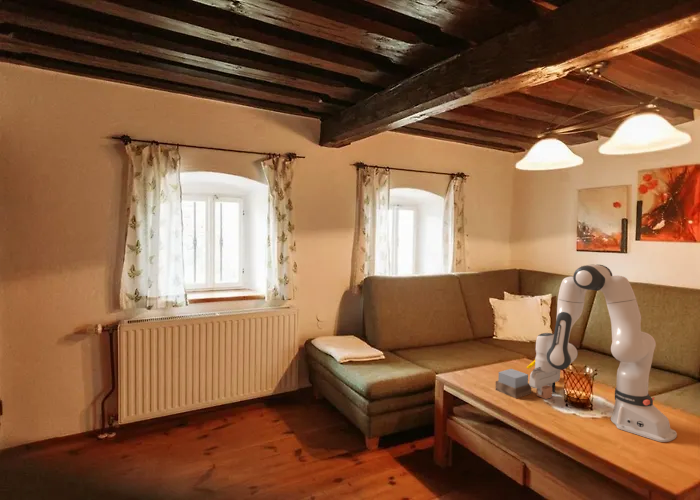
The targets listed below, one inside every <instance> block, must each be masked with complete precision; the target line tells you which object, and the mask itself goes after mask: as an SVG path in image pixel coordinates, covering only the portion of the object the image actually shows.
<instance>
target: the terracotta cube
mask: <svg viewBox="0 0 700 500" xmlns="http://www.w3.org/2000/svg"><path fill="white" fill-rule="evenodd" d="M541 389H542V391H543V394H542V395H539V394H538V390H537V389H536V397H539V398H542V399H545V400H547V399H550V398H553V392H552V387H551V386H548V385H545V386H542V388H541Z"/></svg>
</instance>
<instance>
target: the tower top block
mask: <svg viewBox="0 0 700 500" xmlns="http://www.w3.org/2000/svg"><path fill="white" fill-rule="evenodd" d="M497 381H498V382H500V383H503V384H506V385H508V386H511V387H513V388H518V387H521V386H524V385H527V384H528V383H529V374H527V373H525V372H522V371H519V370H517V369H513V368H509V369H505V370H501V371H498V380H497Z"/></svg>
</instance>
